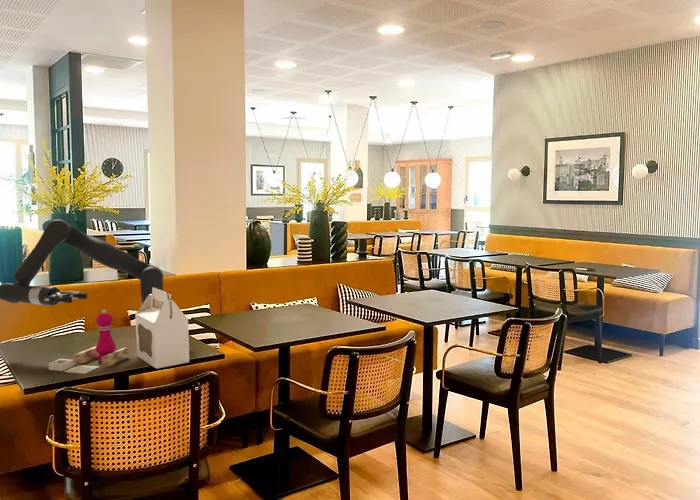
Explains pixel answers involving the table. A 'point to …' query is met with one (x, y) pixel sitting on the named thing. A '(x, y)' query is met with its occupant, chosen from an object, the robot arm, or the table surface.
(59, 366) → the box
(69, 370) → the sage pad
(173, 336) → the gable box
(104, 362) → the oak channel
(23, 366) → the table surface
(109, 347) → the pepper mill
